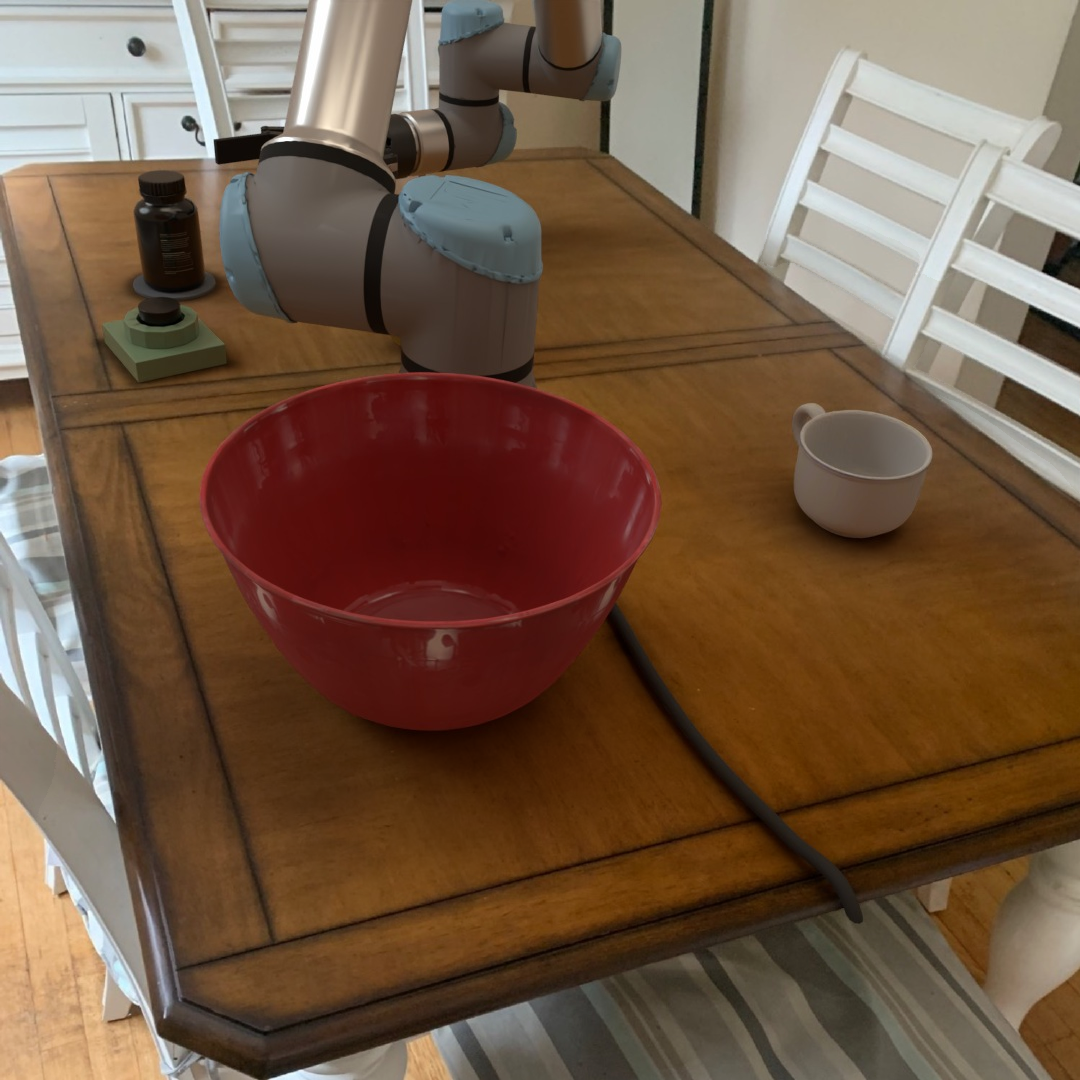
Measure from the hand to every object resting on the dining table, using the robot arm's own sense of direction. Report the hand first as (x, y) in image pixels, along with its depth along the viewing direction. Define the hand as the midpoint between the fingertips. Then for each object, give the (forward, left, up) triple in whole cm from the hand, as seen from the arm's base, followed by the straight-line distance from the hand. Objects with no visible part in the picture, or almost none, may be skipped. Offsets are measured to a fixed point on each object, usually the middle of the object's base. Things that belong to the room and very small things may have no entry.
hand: (242, 168), depth 127 cm
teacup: (-72, -24, -12) cm, 76 cm away
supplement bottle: (0, +9, -12) cm, 15 cm away
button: (-17, +16, -8) cm, 25 cm away
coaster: (0, +9, -12) cm, 15 cm away
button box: (-16, +16, -12) cm, 26 cm away
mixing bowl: (-71, +17, -12) cm, 74 cm away
